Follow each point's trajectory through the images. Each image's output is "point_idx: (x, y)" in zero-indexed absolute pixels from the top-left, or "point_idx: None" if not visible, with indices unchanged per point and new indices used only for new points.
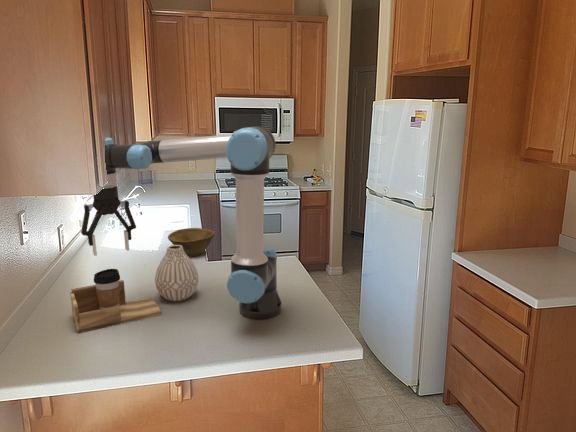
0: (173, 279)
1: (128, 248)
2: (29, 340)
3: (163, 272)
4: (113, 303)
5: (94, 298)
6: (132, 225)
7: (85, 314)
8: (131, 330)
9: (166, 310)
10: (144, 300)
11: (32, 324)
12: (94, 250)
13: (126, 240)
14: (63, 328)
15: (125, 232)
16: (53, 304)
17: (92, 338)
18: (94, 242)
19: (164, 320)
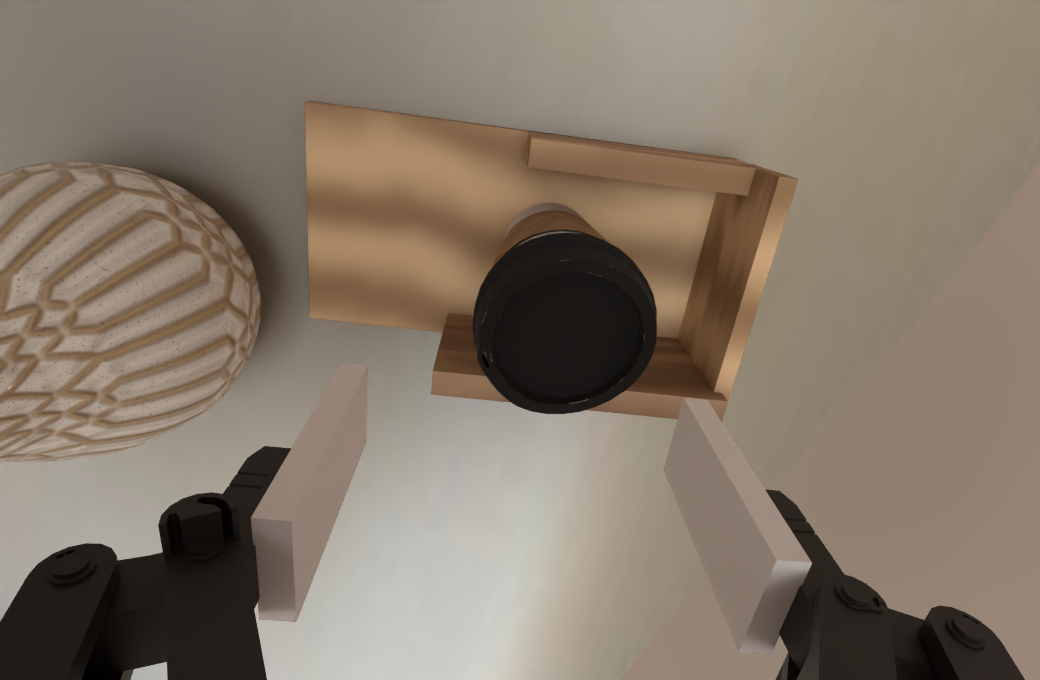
0: (115, 204)
1: (342, 375)
2: (912, 225)
3: (154, 286)
4: (546, 213)
5: None
6: (83, 605)
7: (722, 164)
8: (511, 8)
9: (273, 139)
10: (352, 299)
11: (836, 373)
12: (722, 433)
13: (328, 433)
14: None
15: (291, 517)
16: None
17: (702, 51)
18: (750, 496)
19: (316, 12)
